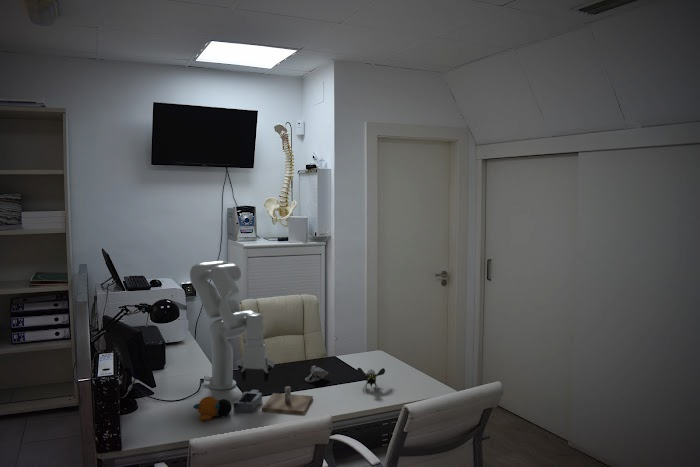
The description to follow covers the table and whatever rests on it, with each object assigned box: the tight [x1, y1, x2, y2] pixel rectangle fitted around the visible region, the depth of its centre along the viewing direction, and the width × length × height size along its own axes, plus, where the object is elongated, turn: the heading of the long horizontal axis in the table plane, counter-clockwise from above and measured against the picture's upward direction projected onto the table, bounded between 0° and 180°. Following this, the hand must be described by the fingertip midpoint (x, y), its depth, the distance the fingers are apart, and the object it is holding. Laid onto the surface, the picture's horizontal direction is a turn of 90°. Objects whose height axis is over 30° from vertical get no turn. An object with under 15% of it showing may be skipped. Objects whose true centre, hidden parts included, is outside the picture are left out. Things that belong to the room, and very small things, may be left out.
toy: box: [193, 395, 233, 422], centre depth 230 cm, size 12×10×15 cm
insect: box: [356, 367, 386, 393], centre depth 263 cm, size 13×16×10 cm
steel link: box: [233, 389, 263, 415], centre depth 243 cm, size 16×8×4 cm, turn 171°
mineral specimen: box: [304, 365, 329, 384], centre depth 275 cm, size 10×8×10 cm
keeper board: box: [261, 386, 314, 415], centre depth 244 cm, size 18×17×8 cm
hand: (255, 380), depth 248 cm, fingers open, 9 cm apart
